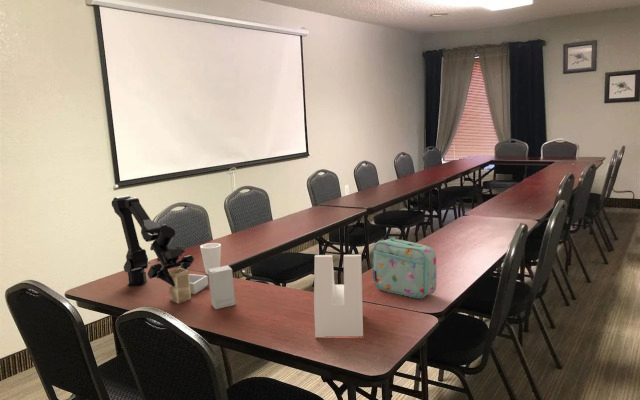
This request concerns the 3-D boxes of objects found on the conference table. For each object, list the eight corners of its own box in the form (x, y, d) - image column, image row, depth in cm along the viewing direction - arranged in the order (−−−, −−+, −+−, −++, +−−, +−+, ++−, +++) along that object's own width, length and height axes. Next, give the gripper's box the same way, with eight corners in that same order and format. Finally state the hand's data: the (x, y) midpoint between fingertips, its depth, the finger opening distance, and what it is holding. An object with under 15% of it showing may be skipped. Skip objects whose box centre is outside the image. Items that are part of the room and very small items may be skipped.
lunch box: (367, 288, 208) (366, 237, 204) (382, 281, 215) (382, 232, 211) (424, 303, 190) (424, 248, 186) (438, 295, 197) (439, 242, 193)
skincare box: (231, 300, 200) (228, 264, 197) (235, 305, 195) (233, 268, 192) (210, 305, 196) (207, 268, 194) (214, 310, 191) (211, 272, 188)
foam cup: (218, 276, 231) (215, 248, 228) (199, 275, 232) (196, 248, 230) (225, 269, 240) (223, 243, 237) (207, 269, 242) (205, 242, 239)
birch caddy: (170, 300, 203) (167, 271, 200) (183, 296, 207) (180, 267, 205) (178, 303, 199) (175, 274, 197) (191, 298, 203) (188, 270, 201)
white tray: (173, 291, 212) (172, 281, 211) (187, 283, 222) (186, 273, 221) (194, 294, 209) (193, 283, 208) (208, 285, 218) (207, 275, 217)
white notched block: (363, 339, 163) (361, 264, 158) (315, 339, 164) (312, 264, 159) (362, 315, 182) (360, 247, 177) (319, 315, 183) (317, 248, 178)
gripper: (148, 245, 195) (167, 278, 189) (189, 235, 208) (208, 266, 203) (139, 262, 201) (157, 294, 196) (180, 251, 215) (198, 281, 210)
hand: (181, 283), depth 201 cm, fingers closed on birch caddy, 6 cm apart
